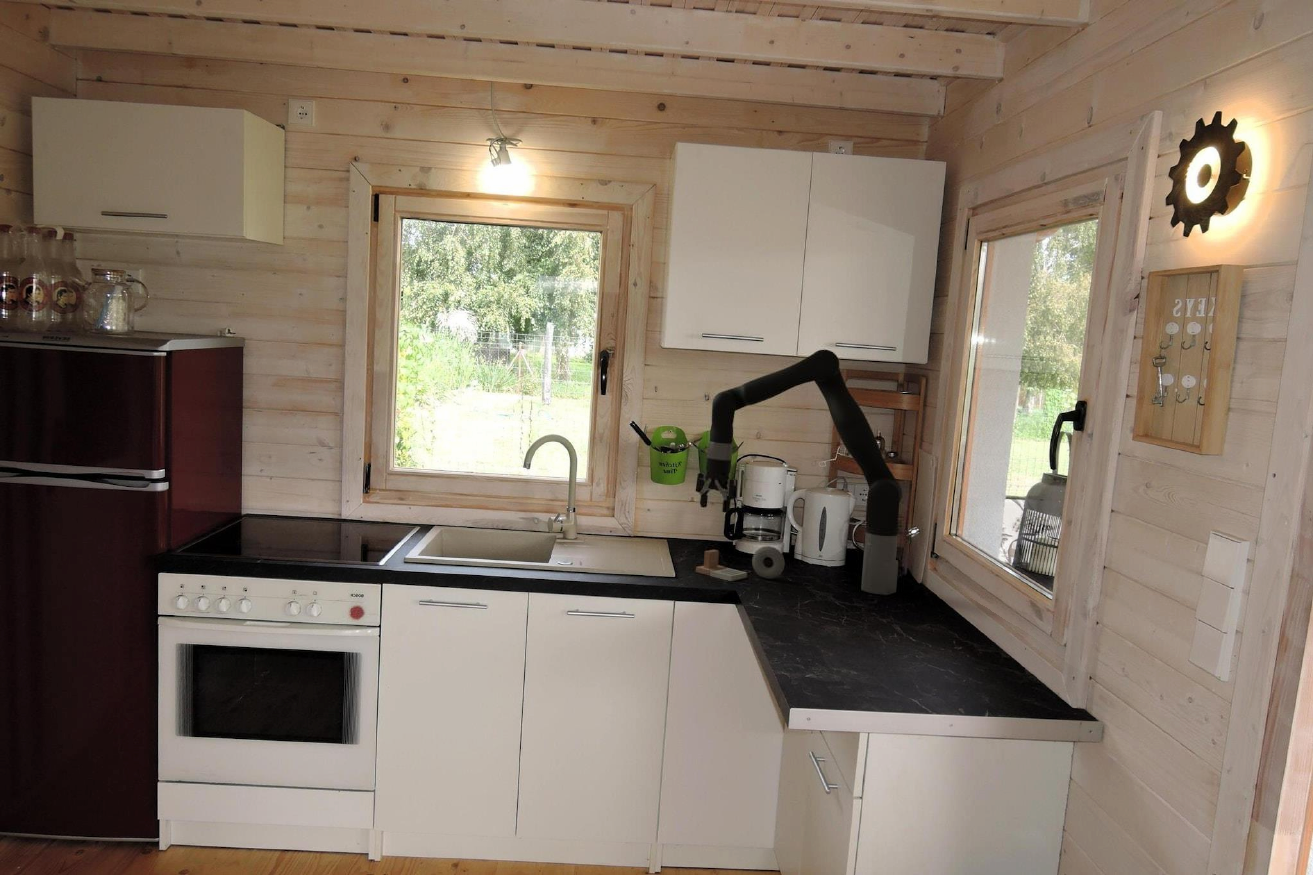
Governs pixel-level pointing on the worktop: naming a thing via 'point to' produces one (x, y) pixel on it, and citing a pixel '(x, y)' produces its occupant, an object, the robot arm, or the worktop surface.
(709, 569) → the stub
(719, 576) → the control panel
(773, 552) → the donut
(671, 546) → the worktop surface
